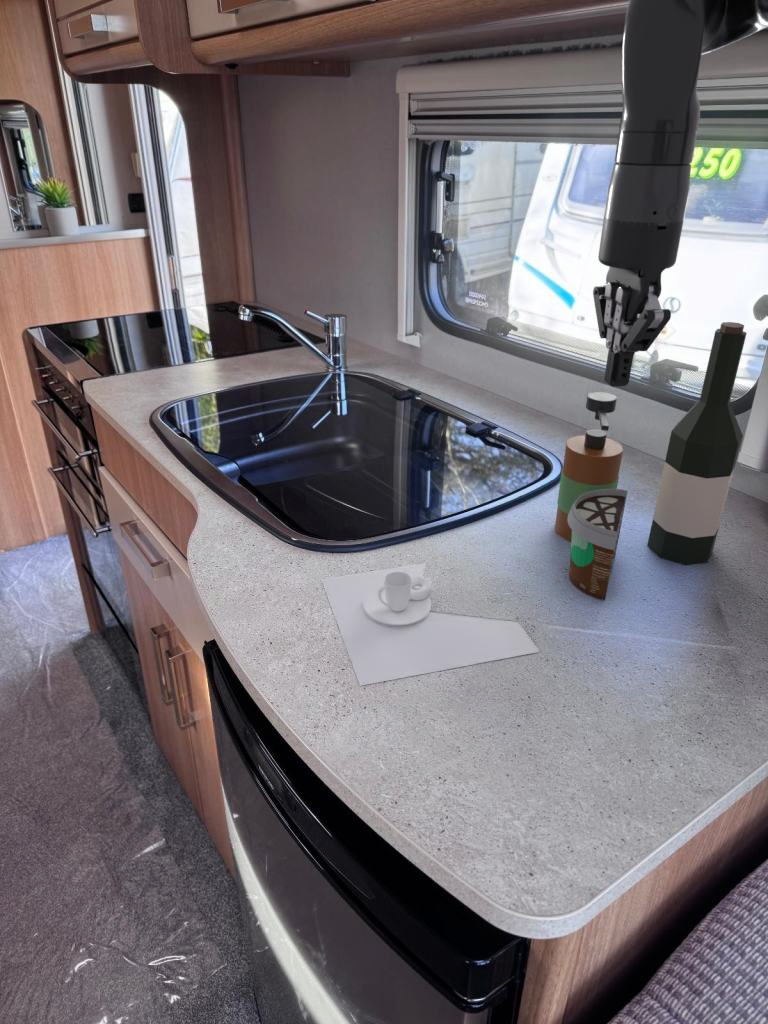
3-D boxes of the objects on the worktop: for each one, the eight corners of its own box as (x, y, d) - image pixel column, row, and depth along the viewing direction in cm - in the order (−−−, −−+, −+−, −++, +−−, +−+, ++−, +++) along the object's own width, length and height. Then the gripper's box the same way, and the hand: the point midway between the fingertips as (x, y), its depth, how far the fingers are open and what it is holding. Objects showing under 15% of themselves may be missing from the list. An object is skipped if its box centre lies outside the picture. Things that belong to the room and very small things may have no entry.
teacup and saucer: (425, 582, 89) (426, 554, 87) (447, 620, 83) (448, 591, 81) (356, 593, 87) (355, 565, 85) (373, 633, 80) (373, 603, 78)
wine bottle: (705, 536, 100) (761, 317, 85) (719, 569, 92) (782, 336, 78) (643, 530, 101) (687, 314, 87) (651, 562, 94) (701, 332, 79)
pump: (611, 414, 94) (615, 392, 93) (618, 442, 86) (622, 419, 84) (583, 412, 95) (586, 390, 93) (587, 440, 86) (591, 416, 85)
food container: (568, 547, 97) (578, 480, 92) (615, 556, 95) (628, 488, 90) (550, 596, 87) (561, 524, 82) (603, 608, 85) (617, 534, 80)
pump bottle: (606, 521, 103) (623, 424, 96) (610, 547, 97) (629, 446, 90) (553, 516, 104) (566, 420, 97) (554, 542, 98) (568, 441, 91)
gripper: (580, 207, 76) (560, 368, 84) (641, 223, 65) (611, 407, 73) (646, 206, 77) (620, 364, 86) (717, 222, 66) (679, 403, 74)
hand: (615, 384), depth 79 cm, fingers closed
